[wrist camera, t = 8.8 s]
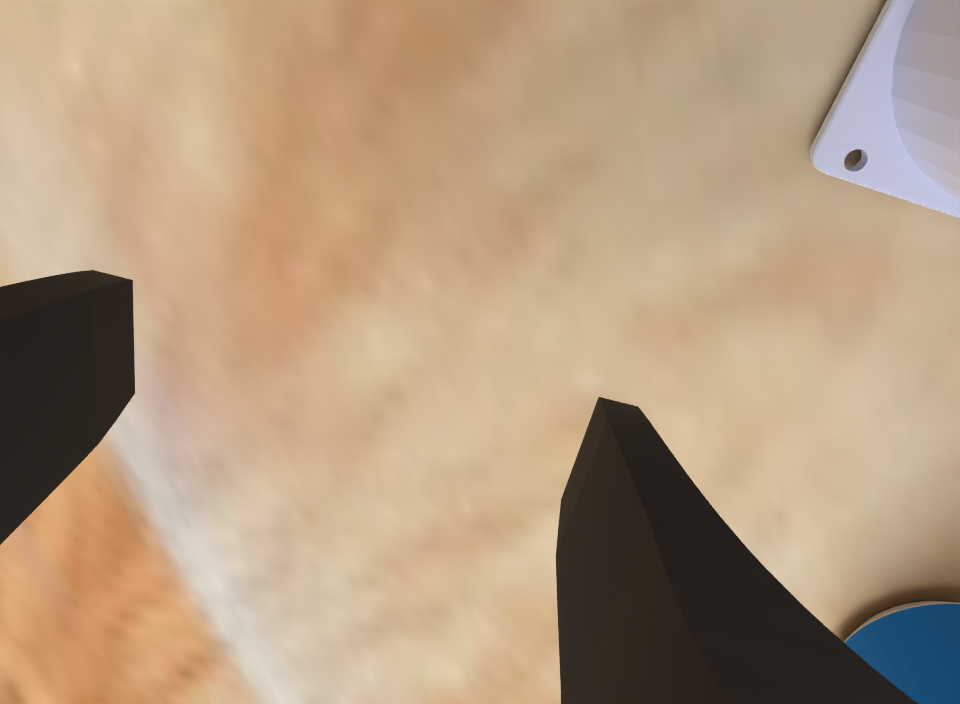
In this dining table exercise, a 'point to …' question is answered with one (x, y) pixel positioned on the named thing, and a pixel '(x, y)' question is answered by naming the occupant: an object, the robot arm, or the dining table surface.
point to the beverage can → (915, 649)
